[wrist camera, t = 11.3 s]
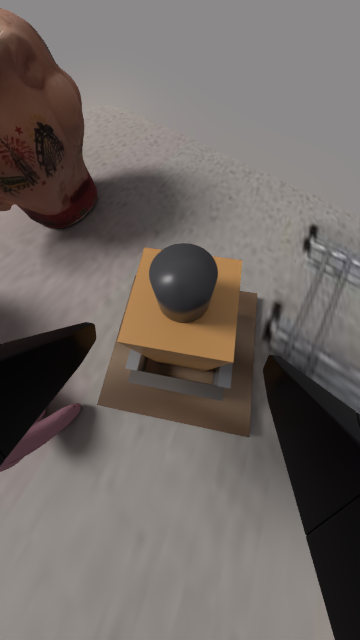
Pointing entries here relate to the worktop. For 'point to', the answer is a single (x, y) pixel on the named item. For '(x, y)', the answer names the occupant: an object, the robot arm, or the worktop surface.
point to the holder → (188, 383)
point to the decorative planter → (40, 131)
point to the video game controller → (41, 433)
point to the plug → (183, 308)
